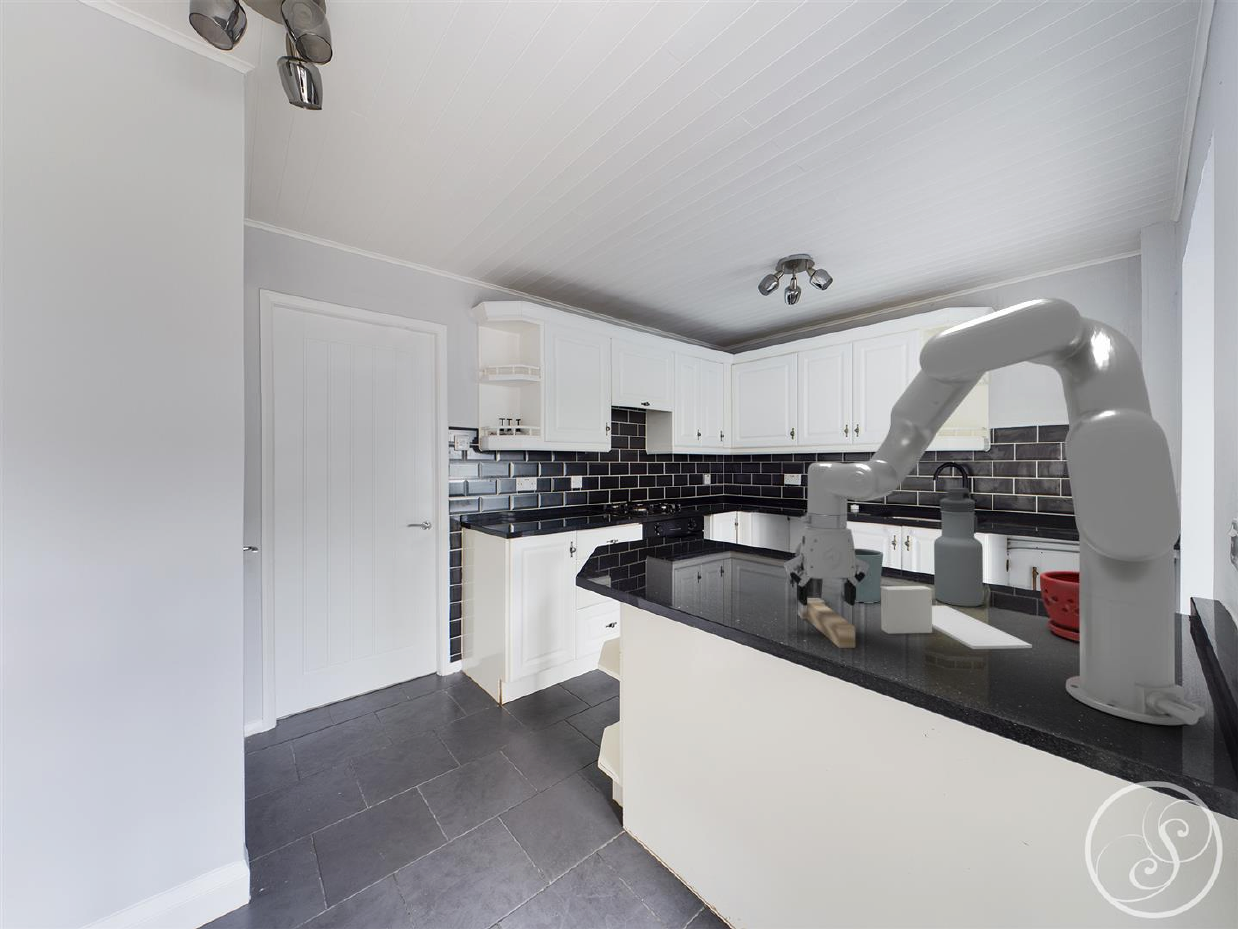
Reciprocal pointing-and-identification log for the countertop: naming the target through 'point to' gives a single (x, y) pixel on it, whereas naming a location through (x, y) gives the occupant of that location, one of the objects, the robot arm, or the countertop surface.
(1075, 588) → the plant pot
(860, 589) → the teal round container
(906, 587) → the tile
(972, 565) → the water bottle
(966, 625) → the rest mat
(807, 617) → the wooden beam
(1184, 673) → the countertop surface
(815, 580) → the beverage cup
